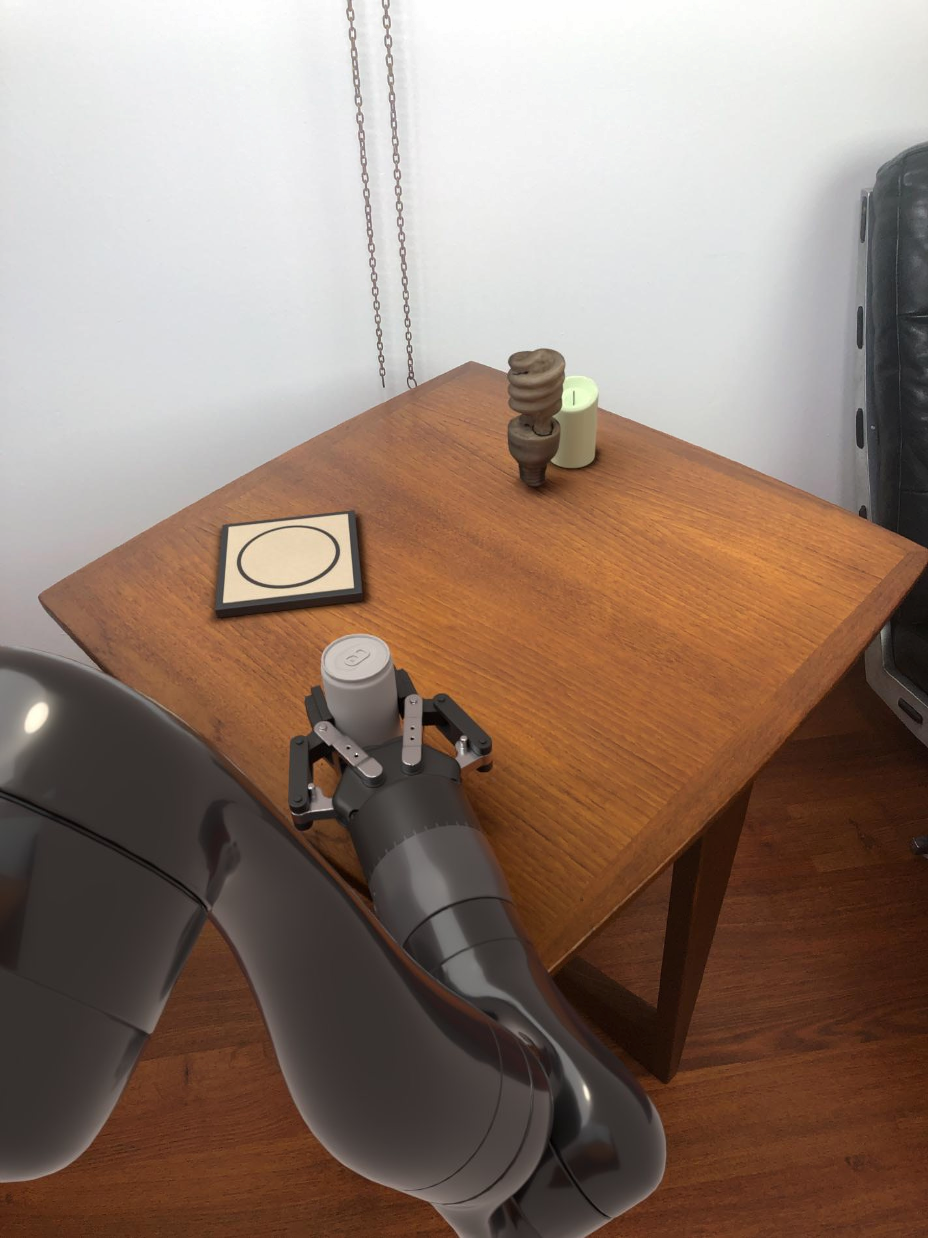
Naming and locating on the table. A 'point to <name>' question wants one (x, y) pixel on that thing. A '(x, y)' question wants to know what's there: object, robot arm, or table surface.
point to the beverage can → (361, 689)
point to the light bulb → (535, 410)
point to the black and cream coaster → (288, 564)
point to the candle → (577, 423)
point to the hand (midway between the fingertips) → (353, 684)
